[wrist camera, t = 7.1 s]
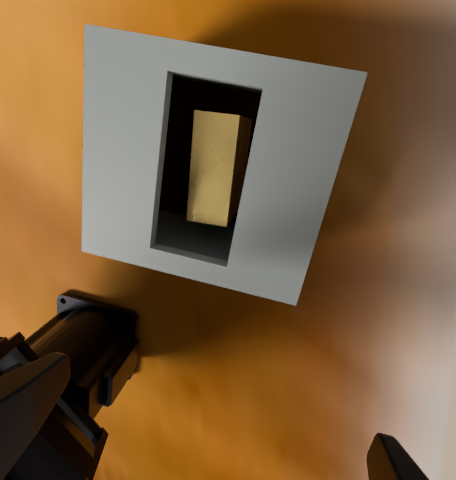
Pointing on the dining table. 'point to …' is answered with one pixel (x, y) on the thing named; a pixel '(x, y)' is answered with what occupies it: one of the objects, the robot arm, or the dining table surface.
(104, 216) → the coin box
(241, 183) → the block
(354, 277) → the dining table surface
